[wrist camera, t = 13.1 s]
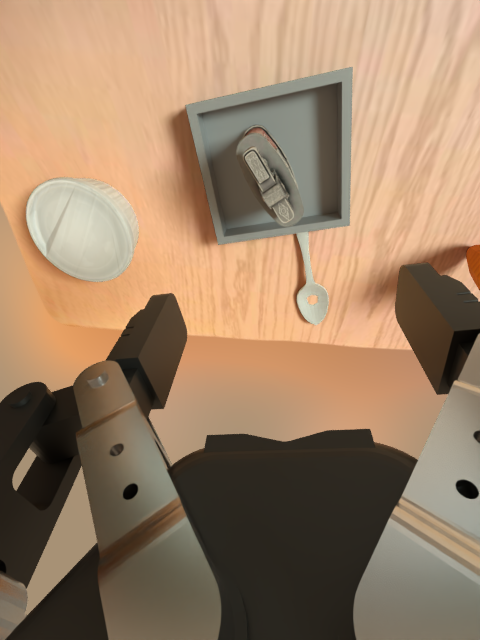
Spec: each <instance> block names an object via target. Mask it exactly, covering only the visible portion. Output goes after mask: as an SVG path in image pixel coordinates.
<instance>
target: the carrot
mask: <svg viewBox="0 0 480 640" xmlns="http://www.w3.org/2000/svg"><path fill="white" fill-rule="evenodd" d="M466 258H467V263H468V267H469V272H470V274H471V276H472V278H473V280H474V282H475V284H476V285H477V287H478V289H479V290H480V245H474V246H471V247H469V249H468V250H467V254H466Z"/></svg>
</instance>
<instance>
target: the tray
mask: <svg viewBox="0 0 480 640" xmlns="http://www.w3.org/2000/svg"><path fill="white" fill-rule="evenodd" d="M352 72H353V67H349V68H345V69H341V70H336V71H332V72H328V73H323V74H319V75H314V76H310V77H306V78H301V79H297V80H293V81H288V82H284V83H280V84H275V85H271V86H266V87H262V88H258V89H253V90H249V91H245V92H240V93H236V94H232V95H227V96H223V97H218V98H214V99H210V100H205V101H201V102H197V103H192V104H188V105H185V106H186V110H187V114H188V118H189V123H190V127H191V131H192V135H193V139H194V144H195V148H196V152H197V156H198V161H199V165H200V169H201V173H202V178H203V182H204V186H205V190H206V195H207V199H208V203H209V207H210V211H211V216H212V220H213V224H214V228H215V233H216V237H217V241H218V245H221V244H227V243H234V242H241V241H248V240H255V239H261V238H268V237H275V236H282V235H289V234H295V233H302V232H309V231H316V230H323V229H329V228H336V227H343V226H350V178H351V125H352ZM253 125H262V126H264V127H265V128H266V129H267V130H268V131H269V133H270V134H271V135H272V136H273V137H274V139H275V140H276V141H277V142H278V144H279V146H280V147H281V149H282V150H283V152H284V153H285V155H286V157H287V159H288V161H289V163H290V166H291V168H292V170H293V173H294V176H295V179H296V182H297V185H298V191H299V194H300V197H301V200H302V203H303V207H304V213H303V216H302V218H301V219H300V221H299V222H297V223H296V224H295V225H292V226H288V227H284V226H281V225H279V224H278V223H277V222H276V221H275V220H274V219H273V218H272V217H271V216H270V215H269V214H268V213H267V212H266V211H265V209H264V208H263V207H262V205H261V204H260V203H259V201H258V200H257V199H256V197H255V196H254V194H253V192H252V190H251V188H250V187H249V185H248V183H247V181H246V179H245V177H244V175H243V172H242V170H241V167H240V165H239V162H238V160H237V156H236V151H237V146H238V144H239V142H240V141H241V140H242V138H243V136H244V134H245V132H246V131H247V130H248V128H250V127H251V126H253Z"/></svg>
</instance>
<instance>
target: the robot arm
mask: <svg viewBox="0 0 480 640" xmlns="http://www.w3.org/2000/svg"><path fill="white" fill-rule="evenodd" d="M395 313H396V318H397V321H398V323H399V325H400V327H401V329H402V331H403V333H404V334H405V336H406V338H407V340H408V342H409V344H410V346H411V347H412V349H413V351H414V353H415V355H416V357H417V358H418V360H419V362H420V364H421V366H422V368H423V370H424V371H425V373H426V375H427V377H428V379H429V381H430V382H431V384H432V386H433V388H434V390H435V392H436V394H437V395H438V394H448V396H447V398H446V400H445V403H444V405H443V407H442V409H441V411H440V414H439V416H438V418H437V420H436V423H435V424H434V427H433V429H432V431H431V433H430V435H429V438H428V440H427V442H426V444H425V447H424V449H423V451H422V453H421V455H420V457H419V460H417V459H415V458H414V457H412V456H410V455H408V454H407V453H404V452H403V451H400V450H398V449H395V448H393V447H390V446H387V445H384V444H380V443H375V442H374V441H373V437H372V435H371V431H370V429H357V430H329V431H324V432H320V433H317V434H313V435H310V436H306V437H302V438H299V439H295V440H292V441H287V442H282V441H276V440H272V439H267V438H262V437H257V436H252V435H248V434H227V435H207V438H206V443H205V448H203V449H200V450H198V451H195V452H193V453H191V454H189V455H187V456H185V457H183V458H182V459H180V460H179V461H177V462H176V463H174V464H173V465H172V463H171V461H170V459H169V457H168V456H167V453H166V451H165V449H164V447H163V445H162V443H161V441H160V439H159V437H158V435H157V433H156V431H155V429H154V427H153V425H152V422H151V421H150V419H149V417H148V416H149V413H150V411H151V409H164V407H165V404H166V401H167V398H168V395H169V392H170V389H171V386H172V383H173V380H174V377H175V374H176V371H177V368H178V365H179V362H180V359H181V356H182V353H183V350H184V347H185V344H186V341H187V329H186V325H185V322H184V319H183V317H182V314H181V311H180V308H179V306H178V303H177V300H176V297H175V296H174V294H172V293H169V294H161V295H153V296H152V297H151V298H150V300H149V302H148V303H147V305H146V307H145V309H143V310H140V311H139V312H138V313H137V314H136V315H134V316H133V317H132V318H131V319H130V321H129V323H128V324H127V326H126V329H124V331H123V333H122V334H121V337H119V339H118V341H117V342H116V344H115V346H114V347H113V349H112V351H111V352H110V354H109V356H108V357H107V359H106V360H105V361H102V362H99V363H96V364H94V365H92V366H90V367H88V368H87V369H85V370H84V371H83V372H82V373H80V375H79V376H78V377H77V378H76V380H75V382H74V385H73V386H70V387H67V388H63V389H60V390H57V391H54V392H51V391H50V390H49V389H48V388H47V386H46V385H45V384H44V383H41V382H33V383H29V384H26V385H24V386H21V387H20V388H18V389H16V390H14V391H13V392H11V393H10V394H9V395H7V396H6V397H5V398H4V399H3V400H2V401H1V403H0V640H480V302H478V299H477V298H476V297H475V296H474V295H473V294H471V293H470V291H469V290H468V289H467V288H466V287H465V286H464V285H463V283H462V282H460V281H458V280H455V279H453V278H451V277H449V276H447V275H443V276H440V275H439V274H438V273H437V272H436V271H435V270H434V268H433V267H432V266H431V265H430V264H429V263H427V262H426V263H418V264H409V265H402V266H401V268H400V271H399V277H398V285H397V294H396V302H395ZM28 448H30V449H31V450H32V451H33V452H34V453H35V454H36V455H37V457H36V458H35V460H34V462H33V463H32V465H31V467H30V469H29V470H28V472H27V474H26V475H25V477H24V479H23V481H22V482H21V484H20V486H19V487H18V489H17V491H15V490H14V488H13V485H12V478H13V474H14V471H15V470H16V468H17V466H18V465H19V463H20V461H21V460H22V458H23V457H24V455H25V453H26V452H27V450H28ZM81 466H82V469H83V474H84V479H85V484H86V489H87V494H88V499H89V503H90V508H91V513H92V518H93V523H94V528H95V533H96V538H97V543H96V544H95V545H94V546H93V547H92V549H91V550H90V551H89V552H88V553H87V554H86V555H85V556H84V557H83V558H82V559H81V560H80V561H79V562H78V563H77V564H76V565H75V566H74V567H73V568H72V569H71V570H70V572H69V573H68V574H67V575H66V576H65V577H64V578H63V579H62V580H61V581H60V582H59V583H58V584H57V585H56V586H55V587H54V588H53V589H52V590H51V591H50V592H49V594H47V596H46V597H45V598H44V599H43V600H42V601H41V602H40V603H39V604H38V605H37V606H36V607H35V608H34V609H33V610H32V611H31V612H30V613H29V614H28V615H27V614H25V611H26V606H27V598H28V597H27V591H26V588H27V586H28V584H29V582H30V580H31V577H32V575H33V573H34V571H35V569H36V566H37V564H38V562H39V560H40V557H41V555H42V553H43V551H44V549H45V546H46V544H47V542H48V540H49V537H50V535H51V533H52V531H53V528H54V526H55V524H56V522H57V519H58V517H59V515H60V513H61V510H62V508H63V506H64V504H65V501H66V499H67V497H68V495H69V492H70V490H71V488H72V486H73V483H74V481H75V479H76V477H77V475H78V472H79V470H80V468H81Z"/></svg>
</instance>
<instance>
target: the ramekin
mask: <svg viewBox="0 0 480 640" xmlns="http://www.w3.org/2000/svg"><path fill="white" fill-rule="evenodd" d="M26 221H27V226H28V229H29V232H30V235H31V237H32V239H33V241H34V243H35V244H36V246H37V247H38V249H39V250H40V252H41V253H42V254H43V255H44V256H45V257H46V258H47V259H48V260H49V261H50V262H51V263H52V264H53V265H54V266H56V267H57V268H58V269H60V270H61V271H63V272H65V273H66V274H68V275H71V276H73V277H75V278H78V279H81V280H85V281H91V282H103V281H109V280H112V279H114V278H117V277H118V276H119V275H121V274H122V273H123V272H124V271H125V270H126V269H127V267H128V266H129V265H130V263H131V261H132V258H133V254H134V249H135V247H136V244H137V240H138V237H139V236H138V235H139V226H138V221H137V217H136V215H135V213H134V210H133V208H132V206H131V205H130V203H129V202H128V200H127V199H126V198H125V197H124V196H123V195H122V194H121V193H120V192H119V191H118V190H116V189H115V188H114V187H112V186H110V185H109V184H107V183H104V182H102V181H99V180H96V179H91V178H70V177H60V178H54V179H50V180H48V181H45V182H43V183H42V184H40V185H39V186H37V187H36V188H35V189H34V190H33V192H32V193H31V195H30V197H29V199H28V202H27V205H26Z"/></svg>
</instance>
